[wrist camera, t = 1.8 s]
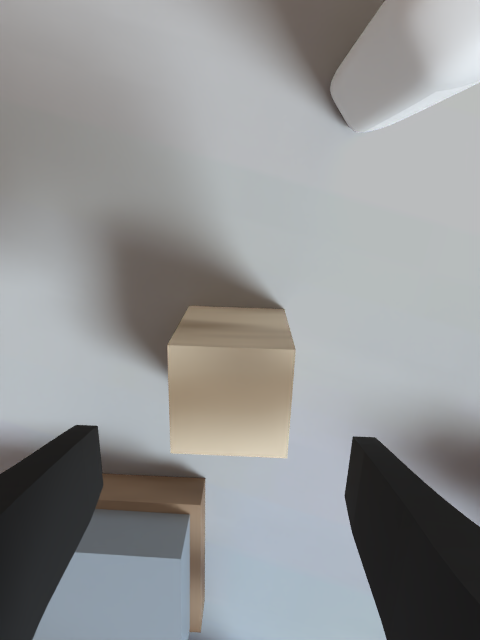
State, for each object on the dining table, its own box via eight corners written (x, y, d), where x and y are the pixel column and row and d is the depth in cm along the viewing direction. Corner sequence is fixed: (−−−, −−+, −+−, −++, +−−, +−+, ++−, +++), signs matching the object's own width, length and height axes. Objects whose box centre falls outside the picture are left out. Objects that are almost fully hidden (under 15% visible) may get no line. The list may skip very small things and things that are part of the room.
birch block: (278, 393, 19) (287, 458, 15) (190, 390, 20) (170, 453, 15) (284, 308, 18) (295, 349, 13) (189, 305, 18) (167, 345, 13)
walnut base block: (205, 589, 24) (200, 632, 22) (63, 581, 25) (43, 623, 22) (206, 470, 22) (200, 505, 19) (46, 463, 22) (21, 495, 20)
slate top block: (189, 628, 22) (181, 681, 20) (48, 618, 22) (24, 670, 20) (189, 514, 19) (180, 559, 17) (31, 504, 20) (1, 547, 17)
